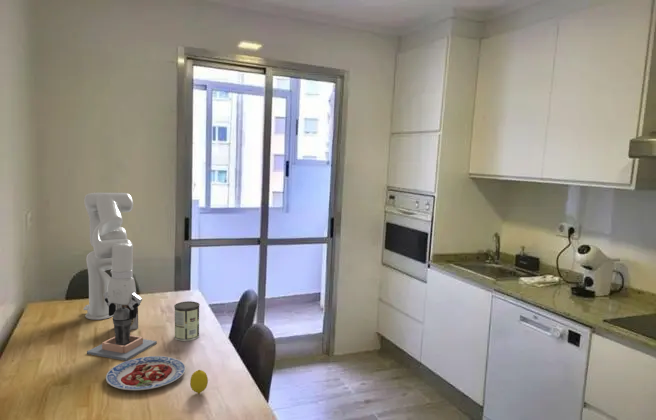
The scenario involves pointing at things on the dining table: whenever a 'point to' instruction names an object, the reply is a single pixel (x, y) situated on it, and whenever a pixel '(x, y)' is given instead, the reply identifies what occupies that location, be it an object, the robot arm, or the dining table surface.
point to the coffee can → (186, 321)
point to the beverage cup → (122, 326)
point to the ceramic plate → (145, 373)
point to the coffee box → (134, 321)
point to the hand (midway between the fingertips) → (122, 316)
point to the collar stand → (122, 348)
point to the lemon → (199, 381)
